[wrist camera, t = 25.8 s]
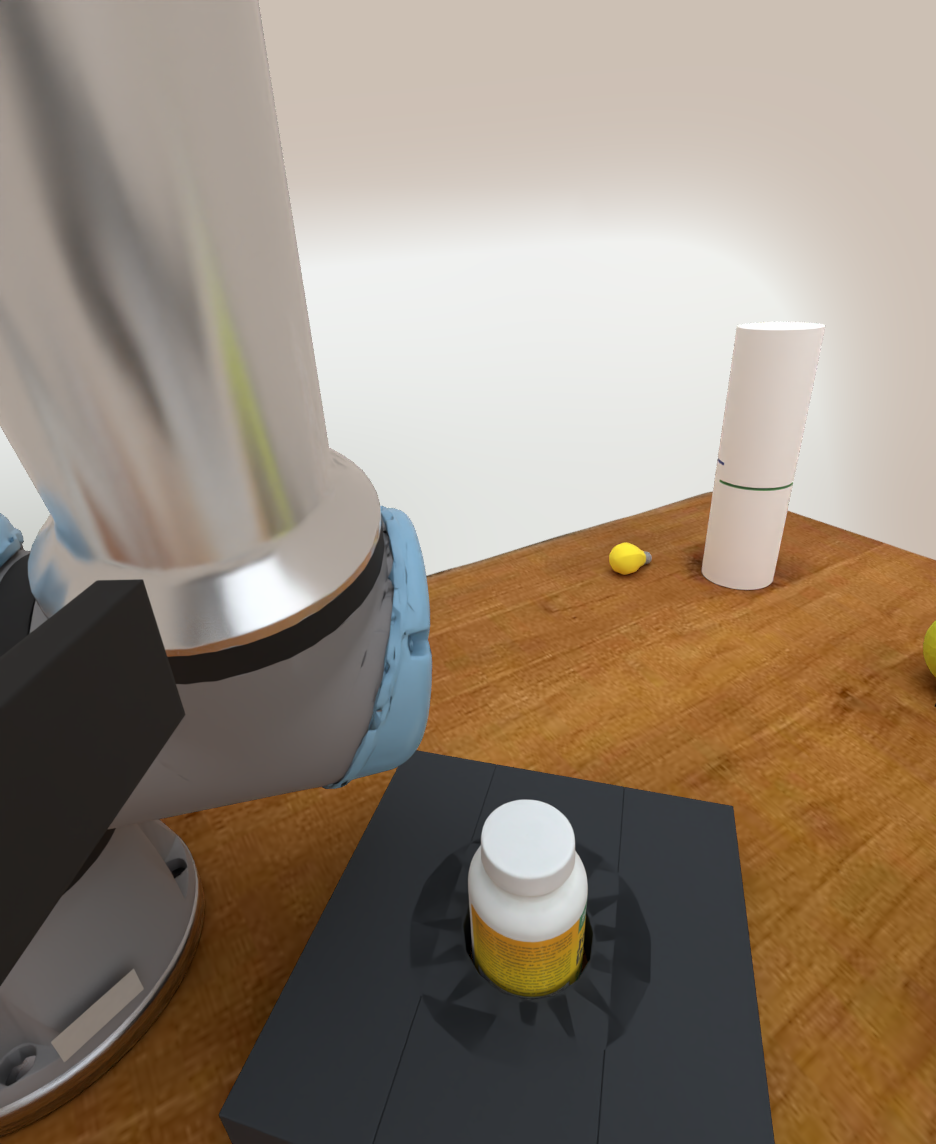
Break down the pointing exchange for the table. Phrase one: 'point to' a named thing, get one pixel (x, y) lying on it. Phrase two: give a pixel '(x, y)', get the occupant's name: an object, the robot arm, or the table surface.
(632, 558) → the light bulb
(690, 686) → the table surface
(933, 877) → the table surface
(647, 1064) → the stand
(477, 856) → the supplement bottle
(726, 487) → the cylindrical container
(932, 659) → the ornament
